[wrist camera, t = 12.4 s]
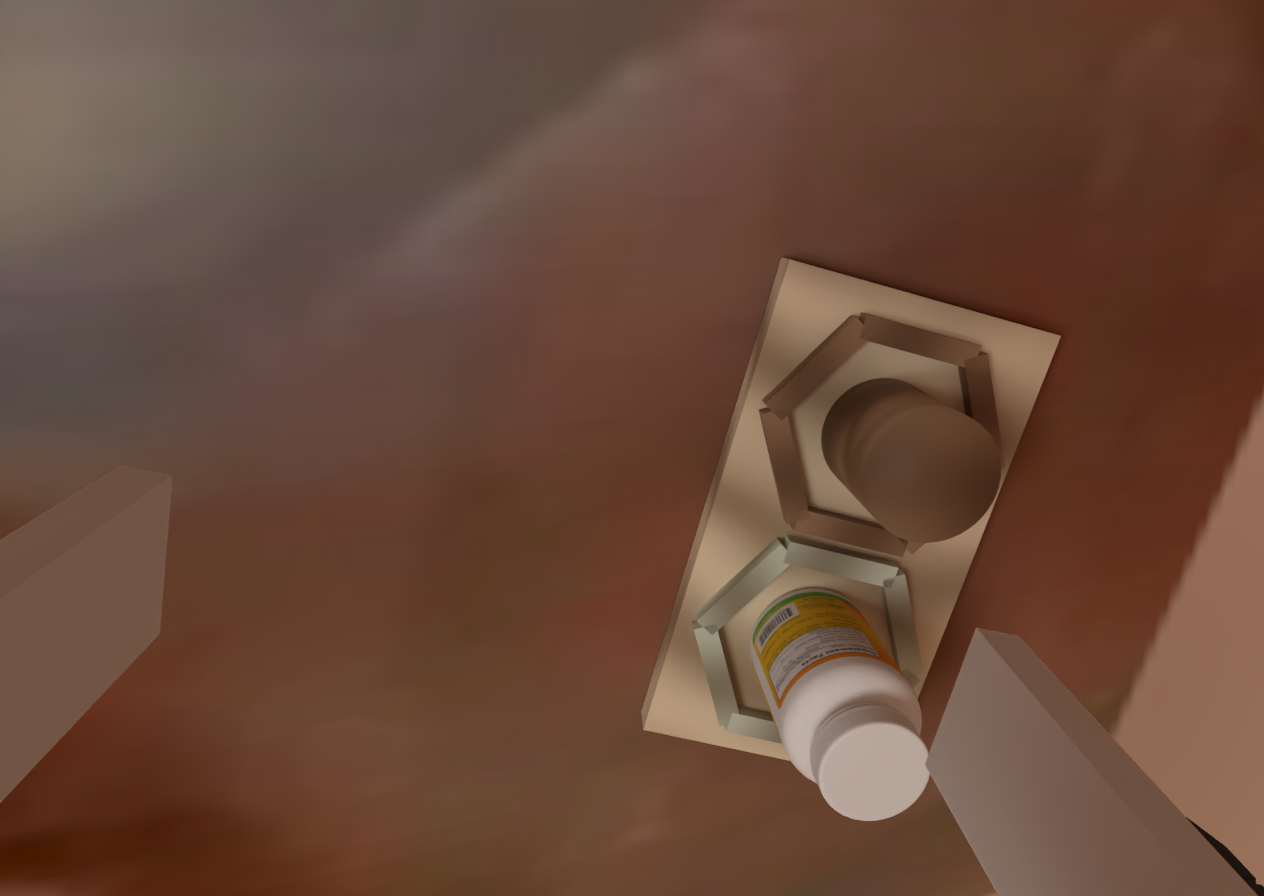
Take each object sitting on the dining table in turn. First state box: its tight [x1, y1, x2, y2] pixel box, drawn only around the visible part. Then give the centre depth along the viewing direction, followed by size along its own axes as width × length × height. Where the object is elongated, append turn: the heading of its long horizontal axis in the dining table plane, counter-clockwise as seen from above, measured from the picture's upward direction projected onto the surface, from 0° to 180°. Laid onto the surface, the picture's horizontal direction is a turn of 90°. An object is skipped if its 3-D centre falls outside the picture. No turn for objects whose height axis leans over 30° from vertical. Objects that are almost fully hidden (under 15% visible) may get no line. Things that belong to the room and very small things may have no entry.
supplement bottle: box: [750, 589, 930, 821], centre depth 35 cm, size 5×5×10 cm
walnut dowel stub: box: [821, 378, 1001, 543], centre depth 35 cm, size 5×5×6 cm
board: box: [641, 257, 1061, 761], centre depth 39 cm, size 22×12×2 cm, turn 165°
